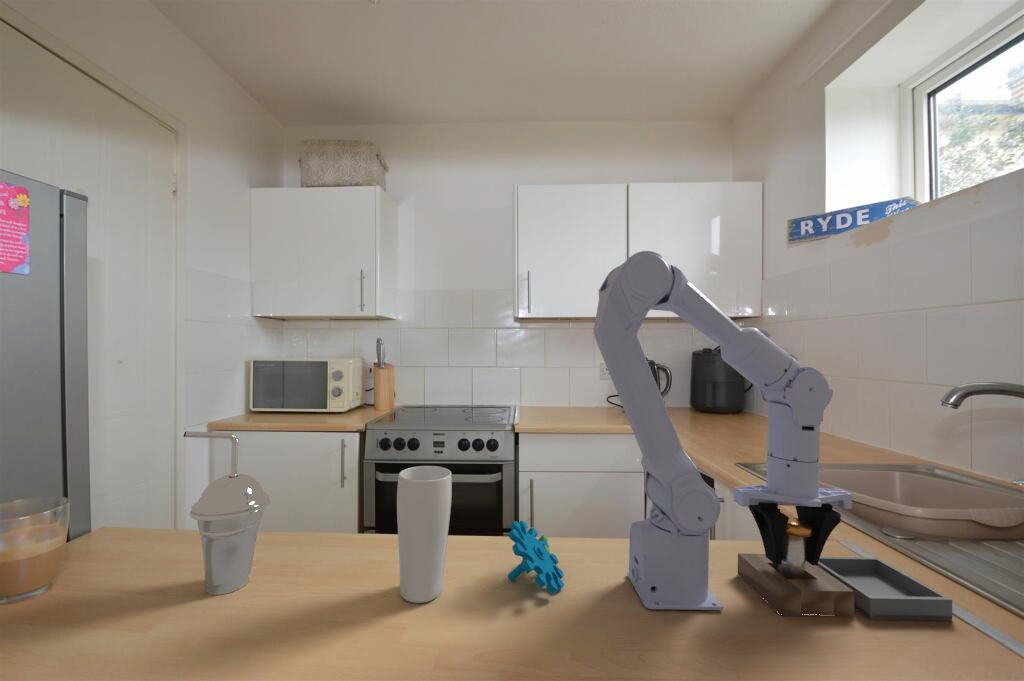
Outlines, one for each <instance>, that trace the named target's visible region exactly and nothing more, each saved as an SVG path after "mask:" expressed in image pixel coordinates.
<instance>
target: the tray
mask: <svg viewBox="0 0 1024 681" xmlns="http://www.w3.org/2000/svg"><path fill="white" fill-rule="evenodd" d="M816 566H818V567H819V568H821V569H822V570H824V571H825V572H827V573H828V574H830V575H831V576H833V577H834V578H835V579H837V580H838V581H840V582H841V583H843V584H844V585H846V586H847V587H849V588H850V589H852V590H853V591H854V610H856V611H857V612H859V613H860V614H862V615H863V616H864V617H866V618H867V619H869V620H873V621H876V620H878V621H924V622H925V621H937V622H952V621H953V599H952V598H950V597H948V596H947V595H945V594H943V593H941V592H939V591H937V590H936V589H934V588H932V587H930V586H928V585H927V584H925V583H923V582H921V581H919V580H918V579H916V578H914V577H912V576H911V575H909V574H907V573H906V572H903V571H902V570H899V569H898V568H896V567H894V566H892V565H891V564H889V563H887V562H885V561H884V560H881V559H879V558H878V557H857V556H856V557H853V556H851V557H849V556H846V557H844V556H842V557H841V556H820V558H819V562H818V564H817V565H816Z"/></svg>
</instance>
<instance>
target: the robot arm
mask: <svg viewBox="0 0 1024 681" xmlns="http://www.w3.org/2000/svg"><path fill="white" fill-rule="evenodd" d="M599 287H600V288H599V289H598V304H597V310H596V314H595V321H594V327H593V334H594V338H595V339H594V340H595V341H596V344H597V346H598V350H599V352H600V354H601V356H602V358H603V361H604V364H605V365H606V369H607V371H608V373H609V376H610V379H611V381H612V383H613V387H614V388H615V390H616V394H617V395H618V399H619V401H620V403H621V405H622V407H623V410H624V412H625V413H624V414H625V415H626V417H627V420H628V422H629V425H630V427H631V430H632V432H633V435H634V437H635V440H636V442H637V444H638V447H639V449H640V452H641V454H642V457H641V466H642V468H643V472H644V482H643V484H644V486H643V487H644V492H645V495H646V496H647V498H648V499H649V501H651V508H650V511H649V517H648V518H646V519H644V520H638V521H632V523H631V525H630V529H629V550H628V551H629V553H628V554H629V558H628V562H629V563H628V570H627V572H626V573H627V574H626V575H627V576H628V579H629V580H630V582H631V584H632V586H633V587H634V590H635V591H636V593H637V595H638V597H639V599H640V600H641V602H642V604H643V605H644V607H645V608H646V609H648V610H680V611H681V610H682V611H683V610H684V611H685V610H687V611H688V610H690V611H691V610H692V611H693V610H694V611H695V610H697V611H700V610H701V611H722V610H723V609H724V607H723V604H722V602H721V601H719V600H718V598H717V597H716V596H715V595H714V593H713V592H712V591H711V590H710V589H709V569H710V568H709V567H710V566H709V562H710V561H709V560H710V557H709V556H710V549H709V548H710V530H711V529H712V528H713V527H714V526H715V524H717V521H718V519H720V518H719V517H720V515H721V514H720V513H721V503H720V499H719V497H718V496H719V495H718V494H717V492H716V491H715V490H714V489H713V488H712V487H711V486H710V485H708V483H707V482H705V480H704V479H703V477H702V475H701V473H700V471H699V469H698V467H697V465H696V464H695V463H694V462H693V460H692V459H691V457H690V456H689V455H688V454H687V452H686V451H685V450H684V448H683V446H682V444H681V441H680V437H679V435H678V433H677V431H676V429H675V426H674V423H673V421H672V418H671V416H670V413H669V411H668V409H667V407H666V404H665V402H664V399H663V396H662V394H661V391H660V388H659V387H658V384H657V381H656V379H655V377H654V375H653V373H652V370H651V367H650V364H649V362H648V360H647V357H646V355H645V352H644V350H643V348H642V345H641V342H640V340H639V337H638V332H639V330H640V328H641V326H642V324H643V323H644V321H645V318H646V317H647V315H648V313H649V312H650V311H651V310H653V311H664V312H672V313H674V314H675V315H677V316H678V317H679V318H681V319H682V320H683V321H685V322H686V323H687V324H689V325H690V326H693V328H694V329H696V330H697V331H699V332H700V333H702V334H703V335H704V336H706V337H707V338H709V339H710V340H712V341H713V342H714V343H716V344H717V345H719V348H720V356H721V359H722V361H723V362H725V363H726V364H727V365H728V366H730V367H731V368H733V370H735V371H737V372H738V373H739V374H740V375H741V376H743V377H744V378H745V379H746V380H747V381H749V382H750V383H751V384H752V385H754V386H755V388H757V392H758V395H759V397H760V398H761V400H762V401H763V402H766V403H767V435H766V436H767V440H766V441H767V444H766V446H767V449H766V452H767V453H766V483H763V484H753V485H748V486H747V485H746V486H733V502H734V503H736V504H737V505H739V506H741V507H748V509H749V511H750V513H751V515H752V517H753V518H754V521H755V523H756V525H757V529H758V531H759V533H760V536H761V541H762V545H763V548H764V554H766V557H767V558H768V559H769V560H770V561H772V562H773V563H774V564H776V565H781V562H782V557H783V538H784V533H785V529H786V525H787V523H788V520H789V517H788V516H789V515H786V514H785V513H783V512H781V508H779V506H787V507H789V506H791V507H795V510H796V514H797V515H796V516H797V518H799V519H802V520H804V521H807V522H808V523H810V524H811V525H812V536H811V537H806V553H805V560H806V561H807V562H809V563H810V564H811V565H817V564H818V562H819V558H820V557H822V556H821V555H822V552H823V550H824V547H825V545H826V542H827V540H828V538H829V537H830V535H831V534H832V532H833V530H834V529H835V528H836V527H837V526H838V525H839V524H840V523H841V521H842V519H841V516H842V515H841V513H840V512H837V511H836V510H833V507H835V508H837V507H838V508H842V509H844V510H852V509H853V494H852V493H851V492H848V491H845V490H843V489H840V488H839V489H838V488H826V487H820V460H821V459H820V454H821V453H820V450H821V449H820V447H821V446H820V445H821V444H820V441H821V437H820V436H821V424H822V422H824V412H825V410H826V408H827V407H828V406H829V404H830V403H831V401H832V399H833V395H834V389H833V388H830V386H829V383H828V380H827V379H826V378H825V376H824V374H822V372H820V371H819V370H817V369H816V368H815V367H814V368H813V367H811V366H810V367H809V366H802V365H801V363H800V362H799V361H798V360H799V358H798V357H797V356H796V355H795V354H793V353H788V352H786V350H784V348H781V347H780V346H779V345H777V344H776V343H775V342H774V341H773V340H771V339H770V337H771V334H772V333H770V332H768V331H767V330H766V329H758V328H757V327H753V326H749V327H740V326H739V325H738V324H737V323H736V322H735V321H733V320H732V319H731V317H729V316H728V315H727V314H725V312H723V310H721V309H720V308H719V307H718V306H717V305H716V304H715V303H713V302H712V301H711V300H710V299H709V298H708V297H707V296H706V295H705V294H704V293H703V292H701V291H700V290H699V289H698V288H697V287H695V286H694V285H693V284H692V283H691V282H690V281H689V280H688V278H687V276H686V274H684V272H683V271H682V269H681V268H679V267H677V266H676V265H674V264H673V263H671V264H670V263H669V261H668V260H667V259H666V258H665V257H664V256H663V255H661V254H659V253H658V252H655V251H651V250H642V251H639V252H636V253H634V254H631V256H629V257H628V258H627V259H626V261H624V262H623V263H622V264H620V265H619V266H617V267H615V268H613V269H612V270H611V271H610V272H609V273H608V274H607V276H606V277H605V278H604V280H603V282H602V283H601V286H599Z"/></svg>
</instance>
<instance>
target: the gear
mask: <svg viewBox="0 0 1024 681" xmlns="http://www.w3.org/2000/svg"><path fill="white" fill-rule="evenodd" d="M509 527H510V529H511V530H510V531H509V532H508V538H509V539H510V541H513V542H514V544H513V545H512V547H511V548H512V552H513V554H514V555H515V556H516V557H521V558H522V560H521V562H520V563H519V564H518V565H517V566H516V567H515V568H513V569H512V570H511V571H510V572H509V573H507V578H508V580H509V581H510V582H513V581H515V580H516V579H517V578H518V577H519V576H520V575H522V574H523V573H524V572H525V573H526V574H527V575H528V574H530V573H531V572H532V571H534V572H535V573H536V574H537V576H535V577H534V582H535V583H536V585H537V586H538V587H539V588H541V589H542V588H543V587H545V586H546V590H547V592H549V593H551V594H552V595H555V593H557V592H558V591H560V590H561V589H562V588H564V587H565V584H564V581H562V579H563V578H564V575H565V574H564V571H563V570H562V569H561V568H560V567H559V566H557V564H559V559H558V557H557V555H556V554H555V553H550V545H549V544H548V541H549V539H548V537H547V536H546V535H545V534H543V535H541V536H540V537H539V538H538V539H537V536H538V535H539V532H538V531H537V530H536V529H535V527H534V526H532V527H530V528H529V529H528V527H529V526H528V524H527V523H526V522H525V521H524V520H519V522H518V521H516V520H515V521H513V522H512V523H511V524H510V525H509Z"/></svg>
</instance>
